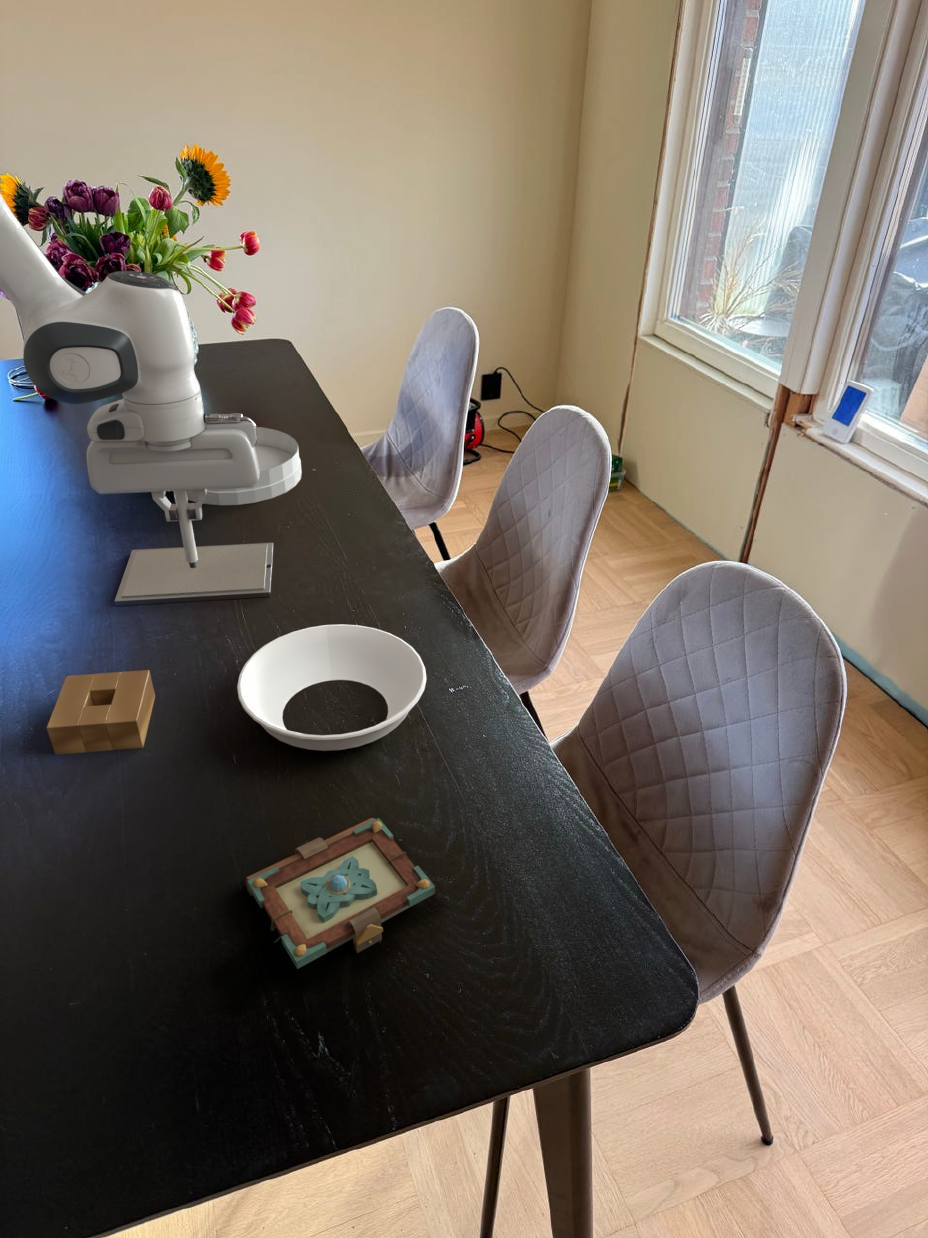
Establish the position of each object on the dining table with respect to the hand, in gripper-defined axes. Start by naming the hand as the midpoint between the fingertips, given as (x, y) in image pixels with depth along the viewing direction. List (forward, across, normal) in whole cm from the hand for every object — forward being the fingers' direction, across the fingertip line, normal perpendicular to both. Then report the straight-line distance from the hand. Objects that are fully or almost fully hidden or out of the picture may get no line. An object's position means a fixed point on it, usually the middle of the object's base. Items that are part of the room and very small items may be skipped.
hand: (184, 518), depth 110 cm
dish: (+11, -3, -37) cm, 39 cm away
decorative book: (+11, -16, +57) cm, 60 cm away
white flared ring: (+11, -18, +30) cm, 37 cm away
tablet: (+11, 0, -4) cm, 11 cm away
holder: (+11, +6, +29) cm, 32 cm away
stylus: (+7, 0, 0) cm, 7 cm away
